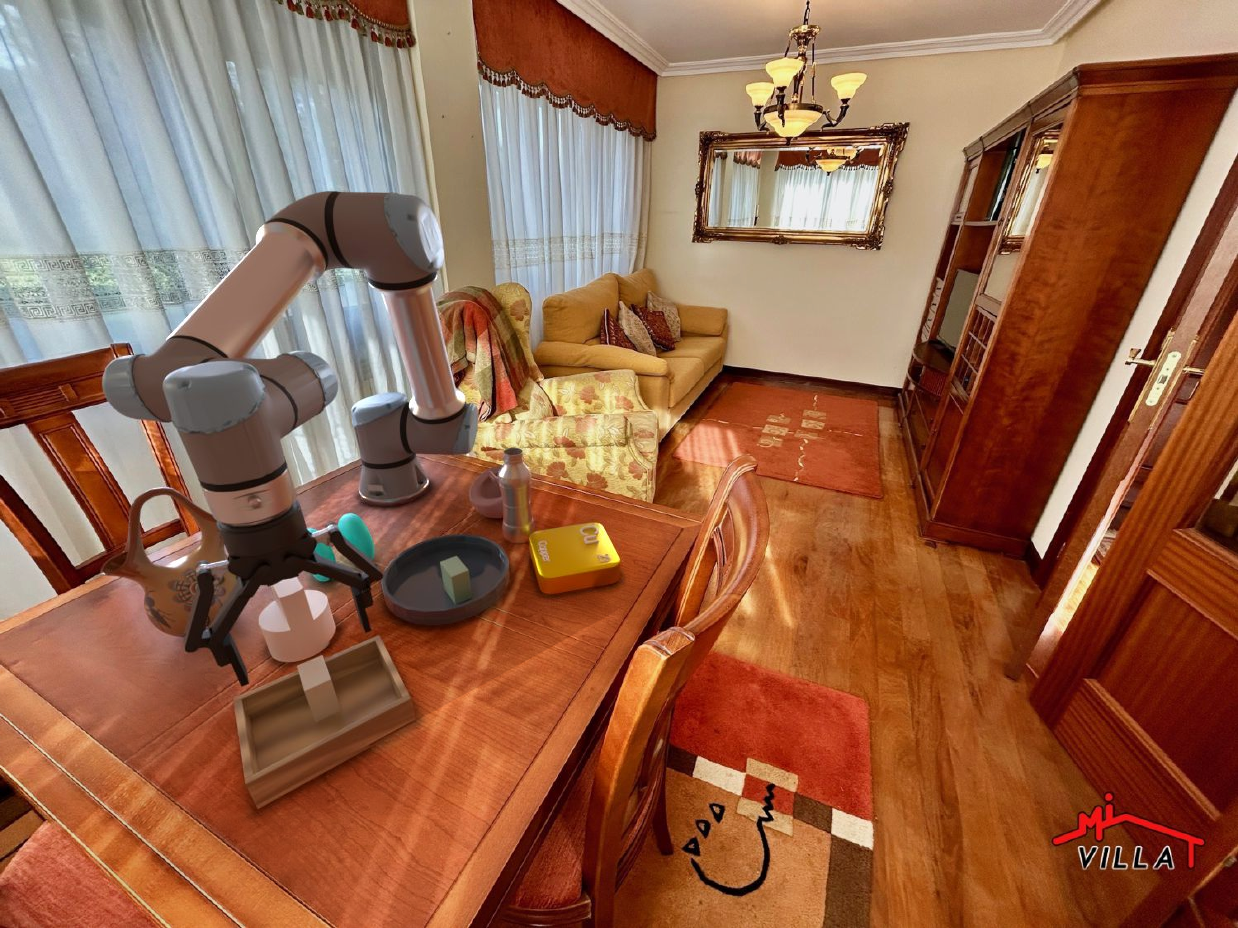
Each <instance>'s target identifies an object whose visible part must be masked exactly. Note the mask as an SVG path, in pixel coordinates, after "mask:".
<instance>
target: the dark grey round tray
mask: <svg viewBox="0 0 1238 928" xmlns="http://www.w3.org/2000/svg"><path fill="white" fill-rule="evenodd" d="M455 556H457V557H458V558H459V559H460V560H461V562H462V563H463V564H464V565H465V566H466V568H467V569H468V570H469V577H470V585H471V593H472V598H470V599H468V600H465V601H463V602H461V603H459V604H455V603H454V602H453V600H452V599H451V598H450V596H449V595H448V593H447V592H446V591H445V589H444V584H443V577H442V571H441V565H440V562H441V561H444V560H447V559H449V558H452V557H455ZM510 573H511V572H510V563H509V555H508V554H507V552H506V551H505V548H504V547H503V546H502V545H500V544H499V543H498V542H496V541H494V540H493V539H489V538H488V537H484V536H482V535H475V534H468V533H455V534H446V535H440V536H436V537H435V536H434V537H432V538H429V539H428V538H427V539H425V540H423V541H419V542H417V543H416V544H413V545H411V546H410V547H408V548H406V549H403V550H402V552H400V553H399V554H398V555H396V556H395V557H394V558H393V559H392V560H391V561H390V562H389V564H388V565H387V566H386V567H385V569H384V570H383V572H382V574H383V578H382V579H381V580H380V585H381V589H382V593H383V598H384V601H385V605H386V607H387V609H388V610H389V611H390V612H391V613H392V614H393V615H394V616H395V617H397V618H398V619H400V620H403V621H404V622H407V623H410V624H414V625H422V626H441V625H442V626H443V625H448V624H454V623H458V622H461V621H464V620H467V619H470V618H472V617H474V616H476V615H479V614H481V613H483V612H484V611H486V610H487V609H489V608H490V607H491V606H493V605H495V603H496V602H498V600H499V599H500V598H501V597H502V596H503V595H504V593H505V592H506V590H507V588H508V586H509V583H510V579H511V574H510Z"/></svg>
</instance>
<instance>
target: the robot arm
mask: <svg viewBox="0 0 1238 928" xmlns="http://www.w3.org/2000/svg"><path fill="white" fill-rule="evenodd" d="M255 243H256V244H255V246H253V247H252V248H251V250H250V251H248V253H247V254H246V255H244V257H243V258H242V259H241V260H240V261H239V262H238V263H237V264H236V265H235V266H234V268H232V270H231V271H229V273H228V274H227V275H226V276H225V277H224V278H222V279H221V281H220V282H219V283H218V284H217V285H216V286H215V287H214V288H213V289H212V291H210V293H209V294H208V295H207V296H206V297H205V298H204V299H202V301H201V302H200V303H199V304H197V305H198V306H196V308H194V309H193V310H192V311H191V312H190V314H189V315H188V316H187V317H186V318H185V319H184V320H183V321H182V322H181V323H180V324H179V325H178V326H177V327H176V328H175V329H174V330H173V332H171V334H169V336H168V337H167V338H166V339H165V341H164V342H162V343H161V344H160V345H159V346H158V347H157V348H156V349H155V350H154V352H153V353H151V354H145V353H136V354H133V355H132V354H131V355H123V356H119V357H117V358H114V359H113V360H112V361H110V362H109V363H108V364H107V366H106V367H105V369H104V372H103V375H102V379H101V381H102V382H101V386H102V387H101V388H102V391H103V394H104V397H105V399H106V401H107V402H108V403H109V405H110V406H112V408H113V409H114V410H115V411H116V412H117V413H119V414H120V415H122V416H124V417H126V418H129V419H134V420H140V421H147V422H158V423H165V424H166V423H167V424H169V423H172V425H173V426H174V428H175V429H176V431H177V434H178V436H179V438H180V440H181V442H182V444H183V447H184V449H185V452H186V454H187V456H188V458H189V461H190V463H191V465H192V467H193V470H194V472H195V474H196V476H197V480H198V482H199V486H200V489H201V491H202V494H203V496H204V498H205V501H206V503H207V505H208V508H209V510H210V514H212V515H213V518H214V519H216V520H217V527H218V530H219V532H220V535H221V537H222V540H223V542H224V548H225V550H226V552H227V557H228V559H227V560H225V561H221V562H217V563H212V564H210V563H209V562H208V561H200V562H198V563H197V564H196V576H197V582H198V585H197V589H196V593H195V596H194V600H193V603H192V607H191V611H190V614H189V618H188V622H187V625H186V629H185V632H184V637H183V647H184V652H186V653H190V654H191V653H195V652H196V651H198V650H199V649H209V651H210V652H211V654H212V656H213V659H214V661H215V663H216V664H217V666H219V667H220V668H223V667H225V666H229V665H230V666H231V667H232V669H233V672H234V674H235V676H236V678H237V681H238V683H239V685H240V686H241V688H243V687H246V686H247V685H249V684H250V680H249V675H248V669H247V666H246V663H245V662H244V660H243V657H242V656H241V653H240V651H239V649H238V646H237V644H236V642H235V639H234V638H233V635H232V633H231V630H232V628H233V627H234V625H235V623H236V622H237V621H238V618H239V617H240V615H241V614H242V612H243V611H244V609H245V607H246V606H247V604H248V603H249V602H250V600H251V599H252V598H254V596H256V594H257V592H258V590H259V589H260V587H261V586H267V587H270V586H272V585H274V584H277V583H278V582H280V581H282V580H286V579H292V578H295V577H297V578H298V577H300V574H301V573H302V572H306V573H309V574H311V575H312V574H313V575H317V574H318V575H321V576H324V577H326V578H329V579H330V580H332V581H334V582H337V583H339V584H342V585H345V586H348V587H350V592H351V594H352V598H353V602H354V605H355V606H354V607H355V609H356V613H357V617H358V620H359V623H360V625H361V627H362V629H363V632H364V633H365V634H367V633H370V632H372V628H371V624H370V620H369V617H368V613H367V609H368V608H371V607H373V606H374V599H373V595H372V587H371V585H372V584H373V583H374V582H379V581H380V582H381V581H382V578H383V572H382V570H381V569H380V567H379V565H378V564H377V563H376V562H374V561H373V559H372V560H371V559H370V558H369V557H367V556H366V555H365V554H364V553H363V552H361V551H360V550H359V549H358V548H357V547H355V546H354V545H353V544H352V543H351V542H349V541H348V540H347V539H346V538H345V537H343V536H342V534H341V532H340V530H339V528H338V523H336V522H335V521H329V522H327V523H326V524H325V527H324V528H323V529H319V530H318V531H317V532H315V533H313V534H312V533H311V532H309V531H308V526H307V523H306V520H305V517H304V514H303V513H304V512H303V510H302V507H301V503H300V501H299V500H298V499H297V497H298V495H297V491H296V487H295V484H294V481H293V478H292V474H291V472H290V468H289V464H288V463H287V459H286V456H285V452H284V449H283V445H282V441H281V440H282V439H283V438H284V437H287V435H289V434H290V433H292V432H293V431H295V429H297V428H299V427H300V426H302V425H304V424H305V423H307V422H308V421H310V420H312V419H313V418H315V417H316V416H319V415H321V414H322V412H324V410H325V408H326V407H328V406H329V405H330V404H331V403H332V402H333V401H334V400H335V399H336V397H337V395H338V392H339V380H338V378H337V375H336V373H335V371H334V369H333V368H332V366H331V365H330V364H329V363H328V362H327V361H326V360H325V359H324V358H323V357H321V356H319V355H317V354H315V353H313V352H310V351H308V350H307V351H306V350H293V351H290V352H283V353H281V354H278V355H277V356H276V357H274V358H273V357H272V358H251V357H252V356H253V354H254V353H255V351H256V350H257V349H258V348H259V346H260V345H261V343H262V342H263V341H264V339H265V338H266V337H267V336H268V334H269V333H270V331H272V329H273V328H274V326H275V325H276V324H277V323H278V321H279V320H280V318H281V317H282V316H283V315H284V313H285V312H286V311H287V309H288V308H289V307H290V305H291V304H292V303H293V301H294V300H295V299H296V298H297V297H298V295H299V293H300V292H301V291H302V290H303V288H304V287H305V286H306V284H307V283H312V282H314V281H317V280H318V279H320V278H321V277H322V276H323V275H324V273H325V272H327V271H330V270H337V269H348V270H349V269H350V270H363V271H364V273H365V276H366V279H367V281H368V285H369V286H370V287H371V288H373V289H375V290H376V291H378V292H380V294H381V296H382V299H383V302H384V305H385V309H386V311H387V315H388V319H389V321H390V325H391V327H392V328H391V329H392V331H393V334H394V338H395V341H396V343H397V347H398V350H399V353H400V356H401V360H402V363H403V366H404V370H405V372H406V375H407V379H408V382H409V385H410V389H411V392H412V395H413V396H412V398H411V399H410V401H408V400H409V398H408V397H407V395H406V394H405V393H401V392H398V391H397V392H396V391H394V392H393V391H392V392H384V393H379V394H374V395H371V396H368V397H365V398H363V399H360V400H358V401H357V402H356V403H354V405H352V407H351V411H350V413H351V421H352V424H351V425H352V427H353V431H354V435H355V440H356V444H357V449H358V453H359V456H360V461H361V472H360V479H359V485H358V493H359V497H360V500H361V501H362V502H363V503H365V504H367V505H370V506H375V507H394V506H395V507H396V506H400V505H404V504H408V503H410V502H413V501H416V500H418V499H419V498H421V497H423V496H424V495H425V494H426V493H427V492H428V490H429V488H430V481H429V477H428V475H427V473H426V471H425V470H424V468H423V466H422V464H421V463H420V461H419V459H418V457H417V455H441V456H457V455H459V456H460V455H468V454H469V453H471V452H472V450H473V449H474V447H475V444H476V440H477V434H478V428H479V409H478V406H477V405H476V404H475V403H472V402H467V400H466V395H465V394H464V392H463V391H462V390H461V389H459V388H457V387H456V384H455V380H454V376H453V372H452V368H451V363H450V358H449V355H448V349H447V347H446V341H445V338H444V334H443V329H442V325H441V321H440V316H439V312H438V308H437V304H436V299H435V295H434V291H433V288H432V285H433V284H434V283H435V282H436V280H437V279H438V271H440V270H441V269H442V268H443V265H444V262H445V261H444V260H445V251H444V248H443V247H444V241H443V236H442V233H441V229H440V226H439V223H438V220H437V218H436V215H435V213H434V212H433V210H432V209H431V207H430V206H429V205H428V204H427V203H426V201H425V200H423V198H421V197H419V196H417V195H413V194H404V193H398V192H393V191H391V192H373V191H371V192H368V191H364V192H363V191H337V190H326V191H319V192H315V193H311V194H308V195H305V196H303V197H301V198H299V199H297V200H295V201H293V202H291V203H290V204H287V205H286V206H284V207H282V208H281V209H280V210H278V211H277V212H276V213H274V214H273V215H272V216H271V217H269V219H268V220H267V221H265V223H264V224H263V225H261V227H260V228H259V229H258V231H256V236H255ZM317 543H324V544H325V545H326V546H329V547H331V548H333V547H334V548H335V549H336V551H337V552H338V553H339V554H341V555H342V556H343V557H344V558H345V559H347V560H348V561H349V562H350V563H352V564H353V565H354V566H356V567H357V568H358V569H359V570H361V571H362V572H360V571H358V570H356V569H353V568H352V567H349V566H347V565H344V564H341V563H338V562H337V561H336V562H334V561H331V560H329V559H327V558H324V557H322V556H320V555H318V554H317V553H316V552H314V550H315V548H316V546H317ZM228 572H230V573H232V574H234V575H236V576H238V579H237V582H236V585H235V587H234V588H233V590H232V591H231V593H230V594H229V596H228V598H227V599H226V601H225V602H224V604H223V606H222V607H221V609H220V610H219V612H218V613H217V615H216V617H215V618H214V620H213V621H212V623H211V625H210V626H209V628H208V627H206V631H204V628H205V625H206V621H207V618H208V614H209V611H210V607H211V603H212V600H213V596H214V585H218V584H219V582H221V581H222V578H223V575H224V574H226V573H228ZM313 575H312V576H313Z"/></svg>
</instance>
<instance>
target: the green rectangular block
mask: <svg viewBox="0 0 1238 928" xmlns="http://www.w3.org/2000/svg"><path fill="white" fill-rule="evenodd" d="M440 565H441V571H442V577H443V584H444V589H445V591H446V592H447V593H448V595H449V596H450V598H451V599H452V600H453V602H454V603H455V604H459V603H461V602H463V601H465V600H468V599H470V598H472V593H471V585H470V577H469V570H468V569H467V568H466V566H465V565H464V564H463V563H462V562H461V560H460V559H459V558H458V557H457V556H455V557H452V558H449V559H447V560H444V561H441V562H440Z"/></svg>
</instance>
